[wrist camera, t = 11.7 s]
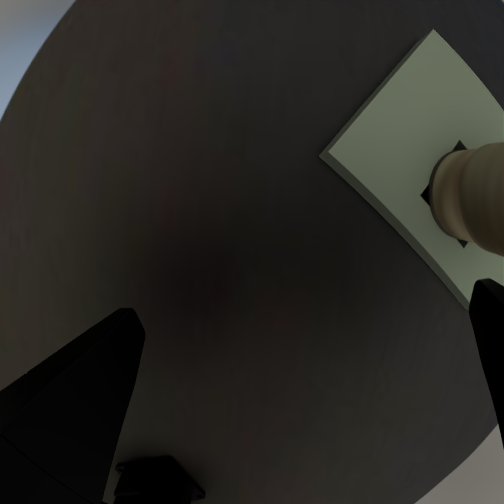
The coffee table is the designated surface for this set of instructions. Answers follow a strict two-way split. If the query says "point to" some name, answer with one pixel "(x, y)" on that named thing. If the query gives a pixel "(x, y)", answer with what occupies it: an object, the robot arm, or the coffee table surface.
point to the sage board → (421, 153)
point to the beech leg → (470, 196)
